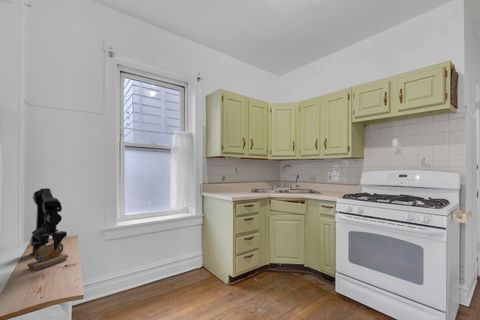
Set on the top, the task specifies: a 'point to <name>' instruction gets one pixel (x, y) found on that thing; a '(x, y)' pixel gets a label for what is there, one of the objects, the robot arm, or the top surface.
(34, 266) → the stand
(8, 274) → the top surface
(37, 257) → the tin
